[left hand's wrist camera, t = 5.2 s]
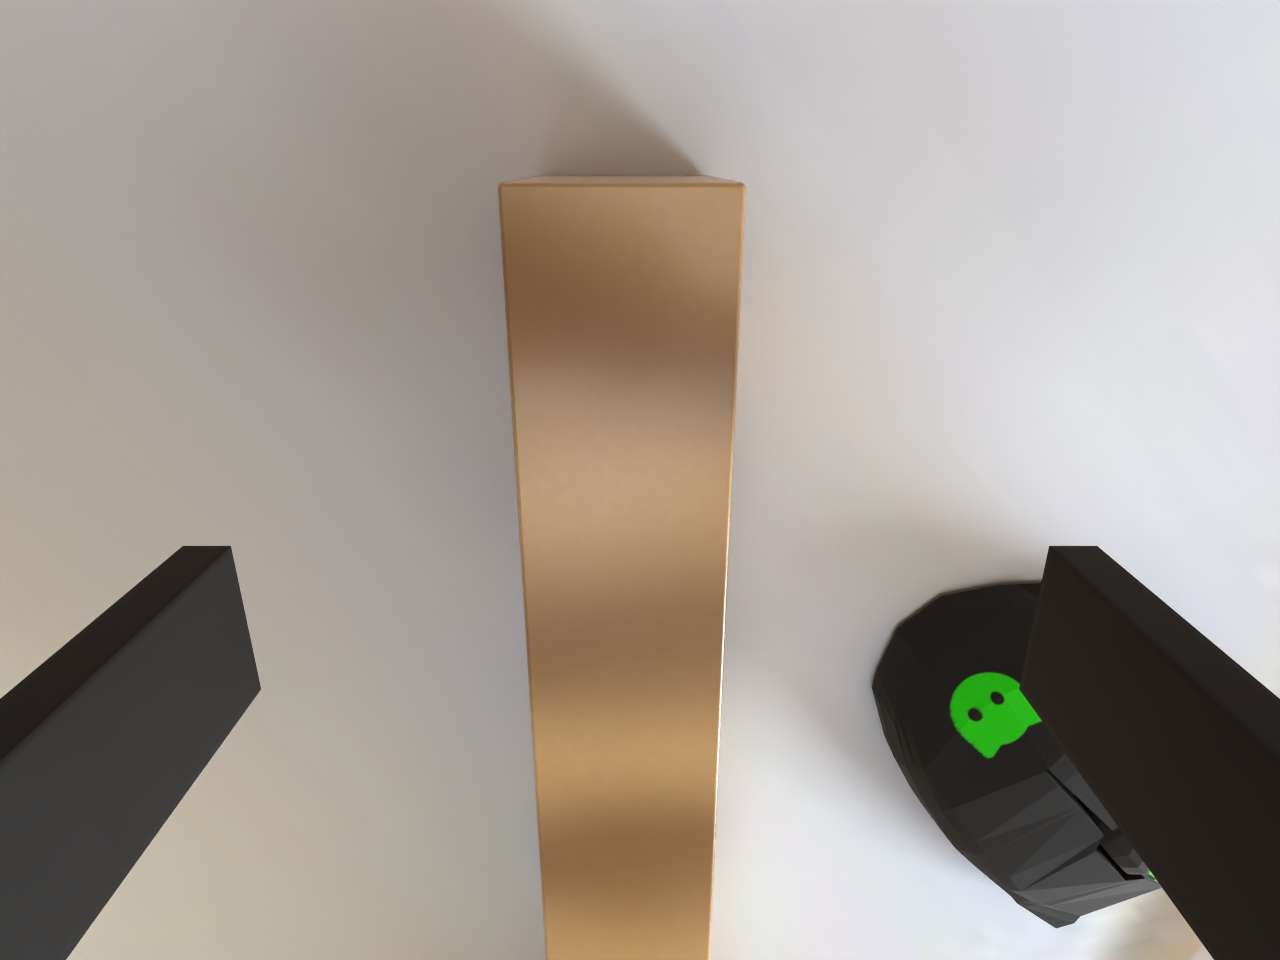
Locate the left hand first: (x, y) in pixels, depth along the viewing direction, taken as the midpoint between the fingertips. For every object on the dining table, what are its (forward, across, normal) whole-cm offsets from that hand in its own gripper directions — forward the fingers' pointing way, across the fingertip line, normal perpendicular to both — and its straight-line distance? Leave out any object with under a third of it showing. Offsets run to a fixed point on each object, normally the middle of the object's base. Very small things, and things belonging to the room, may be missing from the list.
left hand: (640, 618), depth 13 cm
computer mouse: (+14, +16, -14) cm, 25 cm away
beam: (+14, 0, -20) cm, 24 cm away
